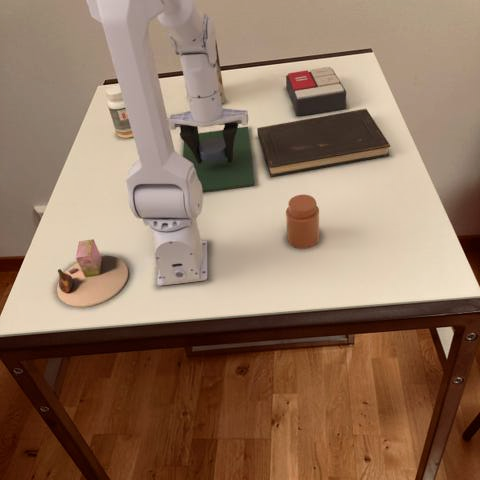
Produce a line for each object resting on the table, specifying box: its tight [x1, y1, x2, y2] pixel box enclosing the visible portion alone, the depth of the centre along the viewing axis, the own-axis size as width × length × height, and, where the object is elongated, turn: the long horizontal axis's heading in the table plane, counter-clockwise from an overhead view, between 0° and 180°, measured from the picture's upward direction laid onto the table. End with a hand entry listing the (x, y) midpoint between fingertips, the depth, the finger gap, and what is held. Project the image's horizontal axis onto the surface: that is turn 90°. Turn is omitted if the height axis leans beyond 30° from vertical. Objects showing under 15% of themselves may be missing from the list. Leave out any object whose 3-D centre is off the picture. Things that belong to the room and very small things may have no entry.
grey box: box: [285, 66, 347, 117], centre depth 115 cm, size 11×4×15 cm
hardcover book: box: [256, 108, 391, 178], centre depth 101 cm, size 16×23×2 cm
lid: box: [199, 138, 227, 162], centre depth 97 cm, size 6×6×2 cm
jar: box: [285, 194, 320, 249], centre depth 81 cm, size 5×5×7 cm
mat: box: [182, 126, 255, 193], centre depth 103 cm, size 22×14×1 cm, turn 3°
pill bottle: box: [105, 84, 133, 139], centre depth 112 cm, size 6×6×10 cm
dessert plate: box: [56, 239, 130, 308], centre depth 82 cm, size 12×12×4 cm
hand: (215, 160), depth 99 cm, fingers closed on lid, 5 cm apart
